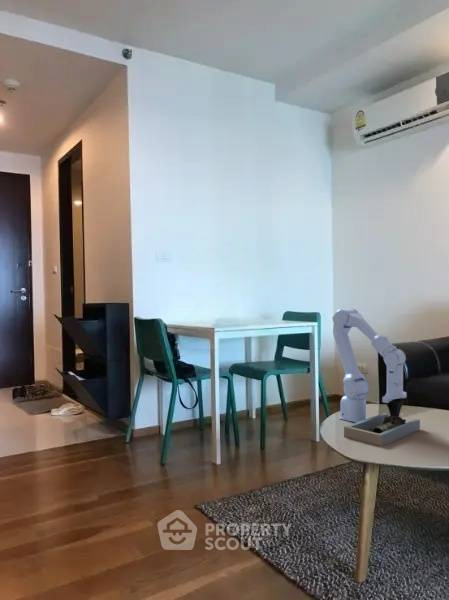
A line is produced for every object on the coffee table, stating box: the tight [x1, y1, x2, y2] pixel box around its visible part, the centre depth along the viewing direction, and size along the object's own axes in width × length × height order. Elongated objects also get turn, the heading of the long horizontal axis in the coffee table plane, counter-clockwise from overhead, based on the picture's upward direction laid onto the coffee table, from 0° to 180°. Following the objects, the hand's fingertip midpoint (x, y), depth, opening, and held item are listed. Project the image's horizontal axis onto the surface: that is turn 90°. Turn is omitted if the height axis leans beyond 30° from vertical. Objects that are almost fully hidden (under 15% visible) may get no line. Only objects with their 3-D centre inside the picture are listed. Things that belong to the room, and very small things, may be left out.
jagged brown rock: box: [371, 415, 407, 434], centre depth 167 cm, size 18×7×6 cm, turn 133°
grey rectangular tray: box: [343, 412, 421, 447], centre depth 169 cm, size 14×28×4 cm, turn 133°
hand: (394, 419), depth 175 cm, fingers closed
